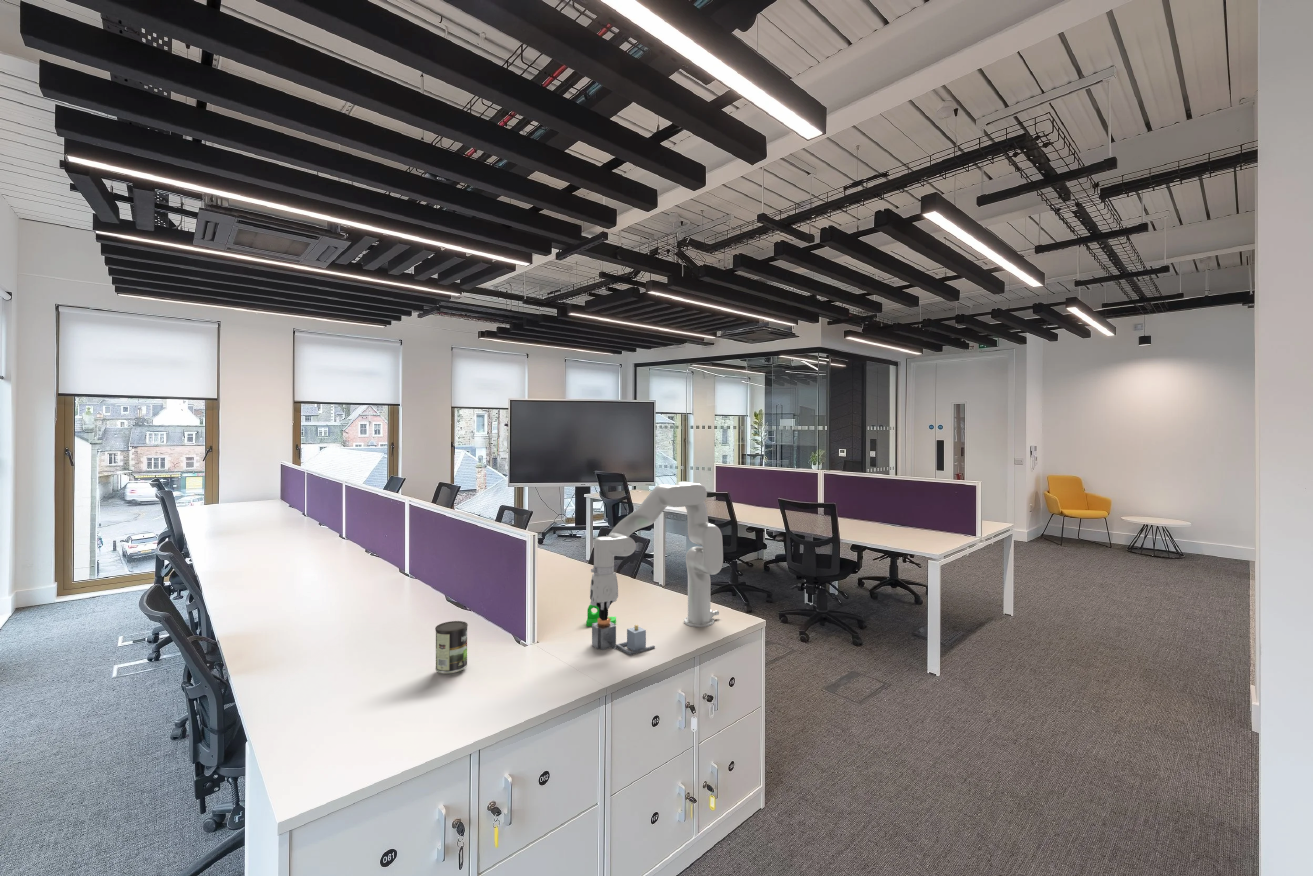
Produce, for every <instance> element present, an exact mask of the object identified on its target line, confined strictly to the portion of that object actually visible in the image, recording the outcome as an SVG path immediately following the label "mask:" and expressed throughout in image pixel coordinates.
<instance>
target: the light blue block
mask: <svg viewBox="0 0 1313 876" xmlns="http://www.w3.org/2000/svg"><path fill="white" fill-rule="evenodd" d="M646 630H647V629H645V628H643V627H641V626H639V625H638V624H635V625H634V627H630V628H627V629H626V637H627V638H626V642H627V646H626V649H629V650H630V651H635V650H639V649H642V648H646V647H647V631H646Z"/></svg>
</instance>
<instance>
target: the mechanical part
mask: <svg viewBox="0 0 1313 876" xmlns="http://www.w3.org/2000/svg"><path fill="white" fill-rule="evenodd" d="M592 609H596V612H593V611H592ZM586 614H587V615H586V616H587V618H586V622H585V623H586V627H592V623H597V622H598V618H599V608H598V607H597V606H592V605H591V604H590V603H589V605H588V607H587V613H586ZM608 617H609V618H610V622H612V623H614V624H615V625H616V622H617V616H608Z"/></svg>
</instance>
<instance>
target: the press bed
mask: <svg viewBox="0 0 1313 876" xmlns="http://www.w3.org/2000/svg"><path fill="white" fill-rule="evenodd" d="M626 647H627V641H625V642H620V643H616V646H615V647H612V648H611V649H613V650H616V649H618V650H619V651H621V652H623V653H625V654H626V655H628V656H629V657H630V656H631V657H632V656H633V655H638V654H640V653H644V652H647V651H650V650H653V649H654V650H655V648H656V646H655V645H651V646H646V648H642V649H639V650H635V651H633V650H630V649H629V650H628V648H626Z"/></svg>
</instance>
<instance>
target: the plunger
mask: <svg viewBox="0 0 1313 876" xmlns="http://www.w3.org/2000/svg"><path fill="white" fill-rule="evenodd" d="M609 617H610V616H607V620H602V619H600V617H599V618H598V625H599V626H600V627H606V626H609V625H610V618H609Z"/></svg>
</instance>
